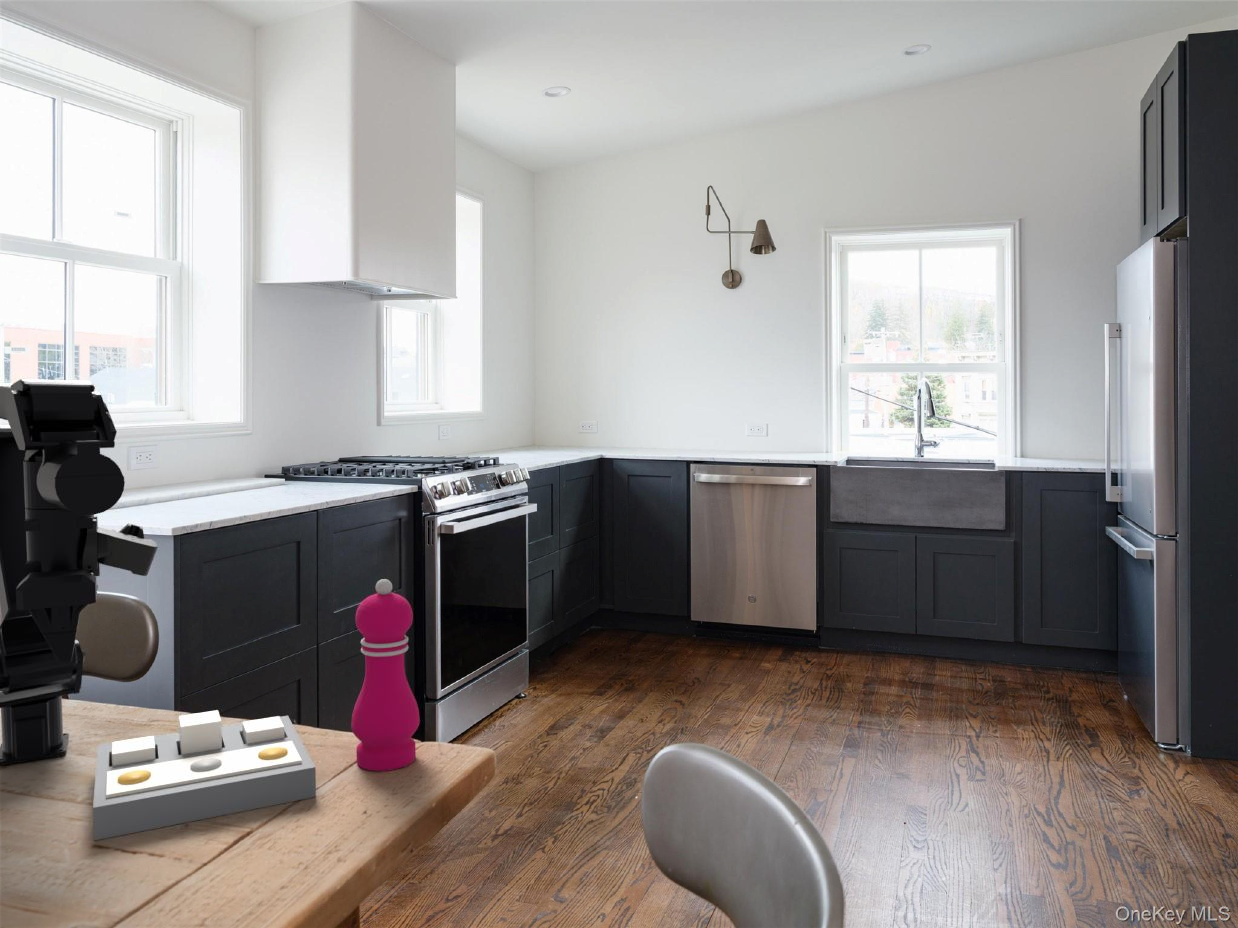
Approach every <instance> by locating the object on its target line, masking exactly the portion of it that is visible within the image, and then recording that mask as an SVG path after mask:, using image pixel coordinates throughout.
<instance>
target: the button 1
mask: <svg viewBox="0 0 1238 928" xmlns="http://www.w3.org/2000/svg"><path fill="white" fill-rule="evenodd" d="M154 736H155V735H148V736H140V737H136V738H129V739H122V740H116V741H112V742H111V743H112V766H117V765H123V764H129V763H135V762H141V761H147V760H153V759H155V742H154Z"/></svg>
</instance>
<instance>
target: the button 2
mask: <svg viewBox="0 0 1238 928" xmlns="http://www.w3.org/2000/svg"><path fill="white" fill-rule="evenodd" d="M280 717H281V716H280V715H277V716H270V717H264V718H258V719H251V720H246V721H241V723H242V734H243V743H244V744H250V743H256V742H262V741H268V740H274V739H280V738H284V725H283V723H282V721H281V719H280Z"/></svg>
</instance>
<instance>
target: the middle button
mask: <svg viewBox="0 0 1238 928" xmlns="http://www.w3.org/2000/svg"><path fill="white" fill-rule="evenodd" d="M221 726H222V719H221V715H220V712H219V710H218V709H216V710H210V711H203V712H197V713H190V714H182V715H179V716H178V731H179V739H180V750H181V755H183V754H189V753H195V752H202V751H208V750H214V749H220V748H222V731H221Z"/></svg>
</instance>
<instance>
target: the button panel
mask: <svg viewBox="0 0 1238 928" xmlns="http://www.w3.org/2000/svg"><path fill="white" fill-rule="evenodd" d="M279 717H280V719H281V721H282V723H283V725H284V738H280V739H274V740H268V741H262V742H256V743H250V744H244V743H243V734H242V722H237V723H231V724H224V725H221V731H222V748H220V749H214V750H208V751H202V752H195V753H189V754H183V755H181V750H180V739H179V732H178V731H177V732H173V733H166V734H160V735H159V734H158V735H153V736H154V742H155V759H153V760H147V761H141V762H135V763H129V764H123V765H117V766H112V742H108V743H101V744H97V748H96V751H97V752H96V762H95V763H96V764H95V775H94V776H95V777H94V787H93V788H94V790H93V802H92V803H93V804H92V816H93V817H92V820H93V841H95V842H96V841H99V840H103V839H109V838H114V837H119V836H125V835H129V834H135V833H139V832H145V831H150V830H155V829H160V828H165V827H169V826H173V825H174V826H175V825H179V824H185V823H191V822H195V821H199V820H200V821H201V820H205V819H210V818H215V817H220V816H225V815H230V814H236V813H240V812H246V811H251V810H256V809H261V808H266V807H271V806H275V805H281V804H286V803H292V802H295V801H302V800H306V799H310V798H311V799H312V798H316V797H317V788H316V787H317V785H316V783H317V782H316V780H317V779H316V778H317V777H316V773H317V772H316V766H315V764H314V762H313V760H312V759H311V756H310V754H309V753H308V751H307V749H306V747H305V745H304V743H303V741H302V739H301V737H300V735H299V733H298V732H297V730H296V728H295V726H294V725H293V723H292V721H291V719H290V717H289V715H283V716H279Z"/></svg>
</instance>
